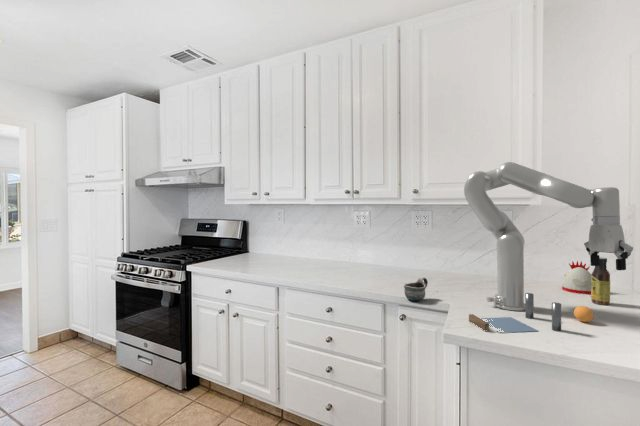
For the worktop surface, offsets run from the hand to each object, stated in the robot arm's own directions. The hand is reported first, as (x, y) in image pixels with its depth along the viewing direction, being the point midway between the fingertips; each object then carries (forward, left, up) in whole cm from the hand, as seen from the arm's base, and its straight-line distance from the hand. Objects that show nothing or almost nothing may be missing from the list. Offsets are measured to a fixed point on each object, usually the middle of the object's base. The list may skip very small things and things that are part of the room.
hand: (607, 267), depth 119 cm
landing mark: (-40, 0, -19) cm, 44 cm away
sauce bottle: (+17, +20, -20) cm, 32 cm away
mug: (-59, +35, -20) cm, 71 cm away
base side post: (-26, +6, -19) cm, 33 cm away
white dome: (+27, +41, -20) cm, 53 cm away
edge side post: (-26, -7, -19) cm, 33 cm away
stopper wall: (-50, 0, -19) cm, 54 cm away
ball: (-10, 0, -17) cm, 19 cm away
